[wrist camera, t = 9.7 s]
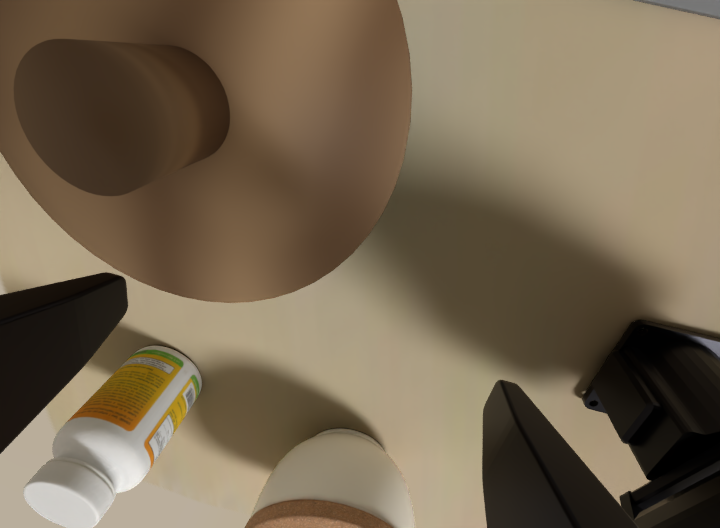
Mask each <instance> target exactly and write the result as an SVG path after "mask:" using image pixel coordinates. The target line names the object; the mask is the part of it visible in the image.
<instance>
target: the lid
mask: <svg viewBox="0 0 720 528" xmlns="http://www.w3.org/2000/svg"><path fill="white" fill-rule="evenodd" d="M411 100H412V82H411V68H410V54H409V49H408V44H407V38H406V33H405V28H404V23H403V18H402V14H401V11H400V8H399V5H398V2H397V0H0V152H1V153H2V155H3V156H4V158H5V160H6V161H7V163H8V164H9V166H10V167H11V169H12V170H13V172H14V174H15V175H16V176H17V178H18V179H19V180H20V182H21V183H22V184H23V185H24V187H25V188H26V189H27V191H28V192H29V193H30V195H31V196H32V197H33V198H34V200H35V201H36V202H37V203H38V204H39V205H40V206H41V207H42V208H43V209H44V211H45V212H46V213H47V214H48V215H49V216H50V217H51V218H52V219H53V220H54V221H55V222H56V223H57V224H58V225H59V226H60V227H61V228H62V229H63V230H64V231H66V232H67V233H68V234H69V235H70V236H71V237H72V238H73V239H74V240H76V241H77V242H78V243H80V244H81V245H82V246H83V247H85V248H86V249H87V250H88V251H90V252H91V253H92V254H94V255H95V256H97V257H98V258H100V259H101V260H103V261H104V262H106V263H107V264H109V265H110V266H112V267H113V268H115V269H117V270H119V271H120V272H122V273H124V274H126V275H128V276H130V277H132V278H134V279H136V280H138V281H140V282H142V283H145V284H147V285H149V286H152V287H154V288H157V289H159V290H162V291H165V292H169V293H172V294H175V295H179V296H182V297H187V298H192V299H197V300H203V301H211V302H224V303H236V302H253V301H259V300H265V299H271V298H275V297H278V296H282V295H285V294H288V293H291V292H294V291H297V290H299V289H301V288H303V287H305V286H307V285H310V284H312V283H314V282H316V281H317V280H319V279H320V278H322V277H323V276H325V275H326V274H328V273H330V272H331V271H333V270H334V269H335V268H336V267H338V266H339V265H340V264H341V263H342V262H343V261H345V260H346V259H347V258H348V257H349V256H350V255H351V254H352V253H353V252H354V251H355V250H356V249H357V248H358V247H359V245H360V244H361V243H362V242H363V241H364V240H365V239H366V237H367V236H368V235H369V234H370V232H371V230H372V229H373V227H374V226H375V224H376V223H377V221H378V220H379V218H380V217H381V215H382V213H383V212H384V209H385V207H386V205H387V203H388V201H389V199H390V197H391V194H392V192H393V190H394V188H395V185H396V182H397V179H398V176H399V173H400V169H401V166H402V163H403V160H404V156H405V150H406V144H407V139H408V133H409V127H410V120H411Z"/></svg>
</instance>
